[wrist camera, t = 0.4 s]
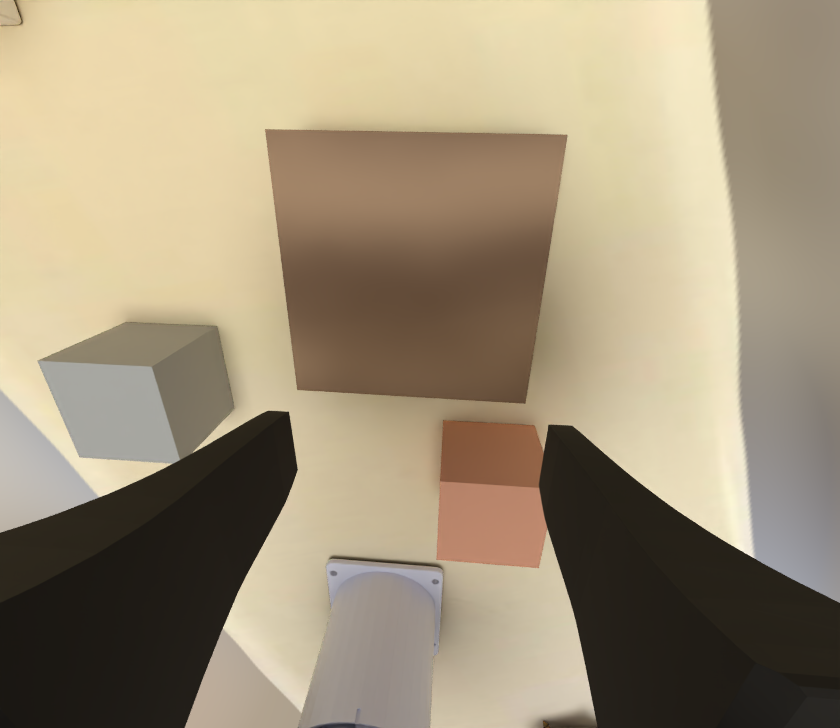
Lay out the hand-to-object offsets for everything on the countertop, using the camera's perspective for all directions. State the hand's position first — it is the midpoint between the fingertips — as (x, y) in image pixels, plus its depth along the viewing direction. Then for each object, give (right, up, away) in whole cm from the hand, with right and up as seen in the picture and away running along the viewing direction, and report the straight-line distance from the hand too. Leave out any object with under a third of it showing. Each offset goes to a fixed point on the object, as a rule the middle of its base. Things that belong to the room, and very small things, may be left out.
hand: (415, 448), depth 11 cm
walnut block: (0, +7, +8) cm, 10 cm away
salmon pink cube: (+4, -3, +12) cm, 13 cm away
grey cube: (-13, +2, +11) cm, 17 cm away
